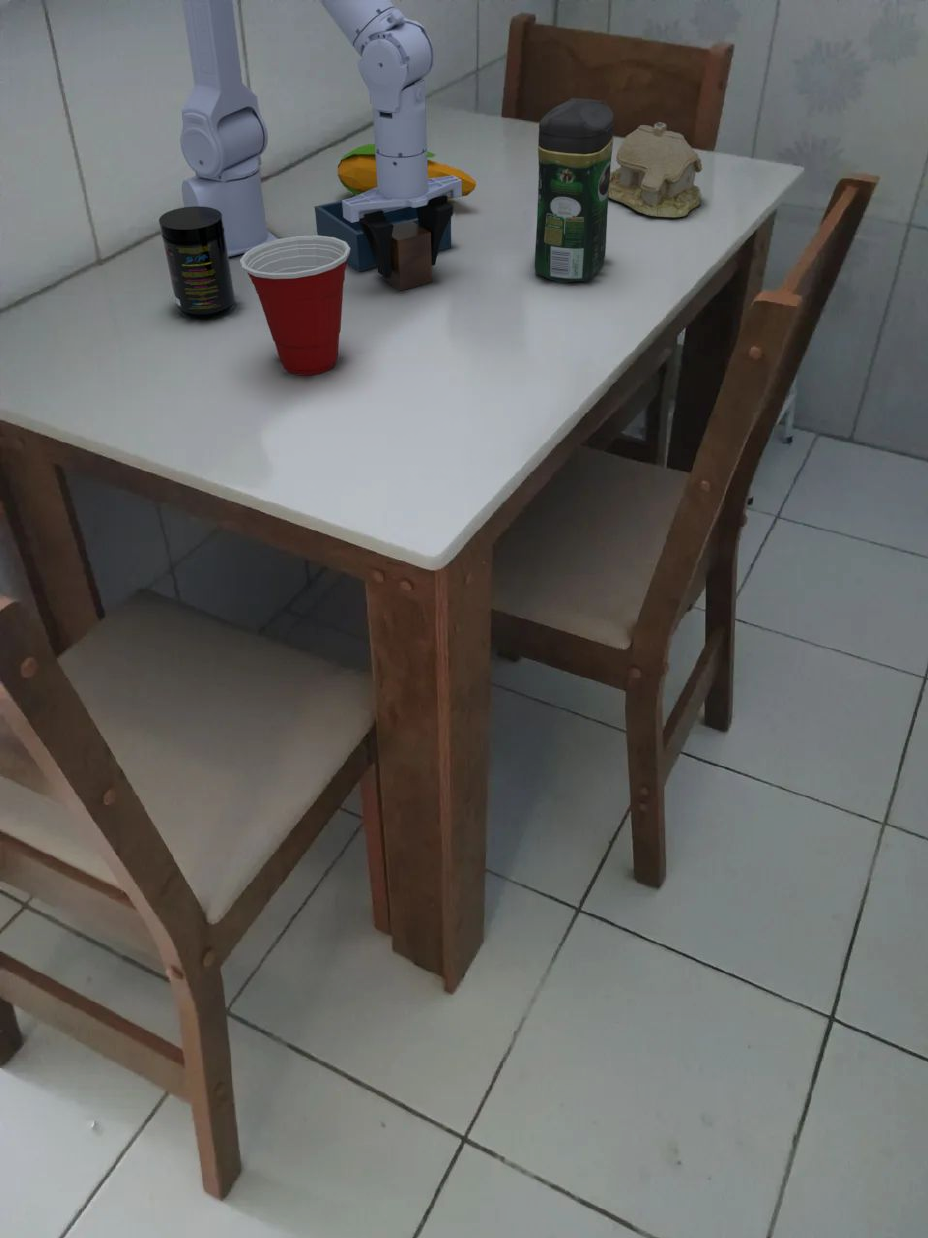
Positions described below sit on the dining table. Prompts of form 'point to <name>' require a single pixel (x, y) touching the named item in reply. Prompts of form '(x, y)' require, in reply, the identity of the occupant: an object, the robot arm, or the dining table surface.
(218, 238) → the supplement container
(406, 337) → the dining table surface
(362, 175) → the corn
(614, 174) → the ceramic model
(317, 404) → the dining table surface
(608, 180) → the coffee jar
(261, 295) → the plastic cup
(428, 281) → the block
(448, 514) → the dining table surface
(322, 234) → the bin
